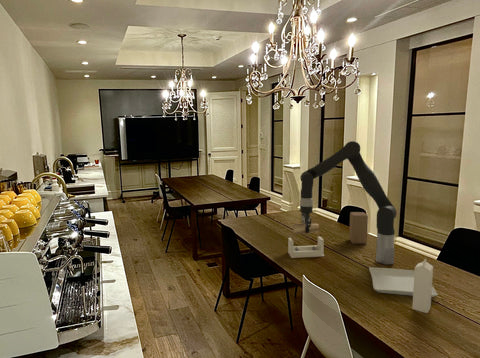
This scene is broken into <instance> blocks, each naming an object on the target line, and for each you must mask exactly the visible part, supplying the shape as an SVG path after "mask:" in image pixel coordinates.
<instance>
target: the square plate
mask: <svg viewBox="0 0 480 358" xmlns="http://www.w3.org/2000/svg"><path fill="white" fill-rule="evenodd" d="M368 271H369V273H370V275H371V280H372V288H373V290H374V291H375V292H377V293H382V294H389V295H390V294H391V295H392V294H393V295H402V296H411V297H413V289H414V272H415V269H414V270H412V269H401V268H392V267H391V268H389V267H368ZM438 295H439V294H438V292H437V291H436V289H435V287H434V286H433V285H432V294H431V298H434V297H437V296H438Z"/></svg>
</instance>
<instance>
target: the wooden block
mask: <svg viewBox="0 0 480 358" xmlns="http://www.w3.org/2000/svg"><path fill="white" fill-rule="evenodd" d="M368 222H369V216H368V215H367V213H365V212H363V211H361V212H360V211H351V212H349V232H348V233H349V235H348V239H349V241H350V242H351V244H354V245H367V243H368V224H369V223H368Z"/></svg>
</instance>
